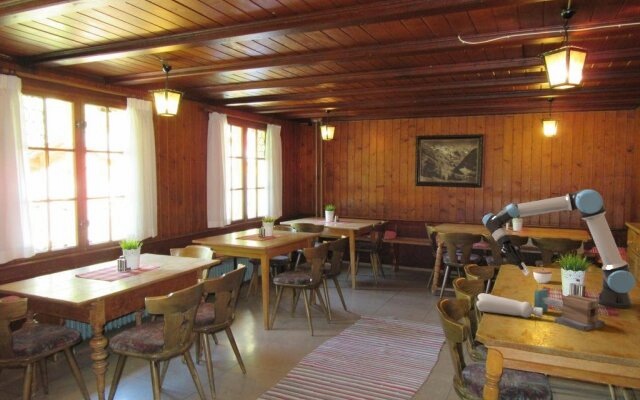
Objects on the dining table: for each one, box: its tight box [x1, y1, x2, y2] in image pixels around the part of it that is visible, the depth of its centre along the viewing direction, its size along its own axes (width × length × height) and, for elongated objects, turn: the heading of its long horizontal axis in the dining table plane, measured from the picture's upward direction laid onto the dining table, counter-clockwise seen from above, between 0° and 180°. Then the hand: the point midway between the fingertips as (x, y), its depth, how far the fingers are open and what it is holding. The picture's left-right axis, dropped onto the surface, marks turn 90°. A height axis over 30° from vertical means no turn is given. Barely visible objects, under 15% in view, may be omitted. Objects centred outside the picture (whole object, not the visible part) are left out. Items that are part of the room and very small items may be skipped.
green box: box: [533, 288, 563, 313], centre depth 227 cm, size 8×18×11 cm, turn 29°
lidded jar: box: [532, 267, 553, 284], centre depth 298 cm, size 11×11×9 cm
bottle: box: [476, 292, 544, 319], centre depth 230 cm, size 9×9×30 cm
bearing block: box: [554, 294, 605, 332], centre depth 217 cm, size 16×14×12 cm
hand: (528, 274), depth 240 cm, fingers closed
